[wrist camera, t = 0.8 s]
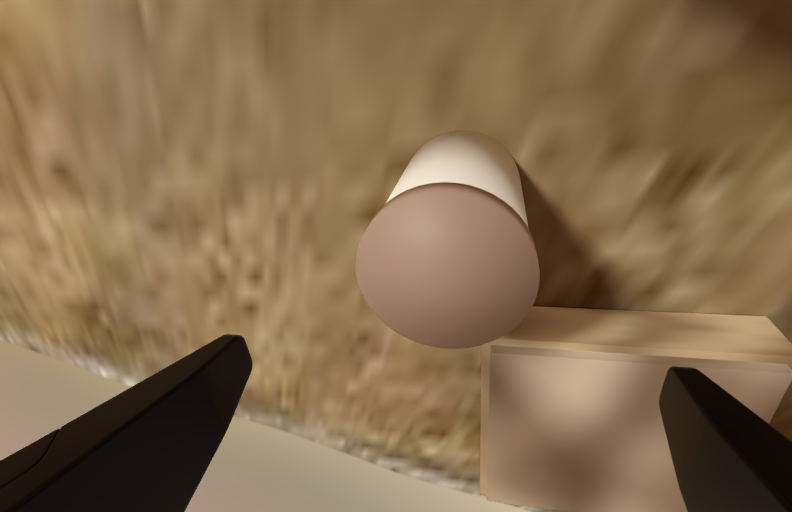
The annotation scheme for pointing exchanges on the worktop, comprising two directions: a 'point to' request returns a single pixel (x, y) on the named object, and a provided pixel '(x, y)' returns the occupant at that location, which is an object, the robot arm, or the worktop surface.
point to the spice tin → (452, 246)
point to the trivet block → (609, 402)
